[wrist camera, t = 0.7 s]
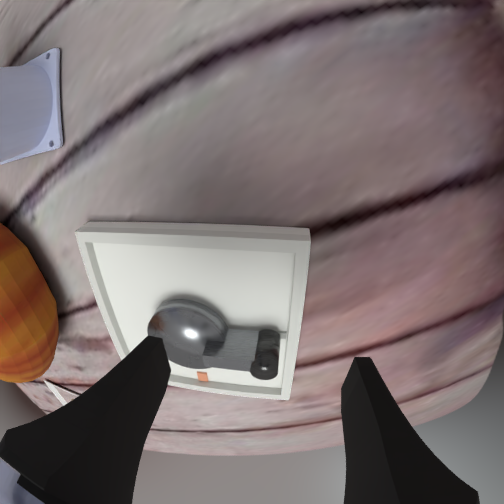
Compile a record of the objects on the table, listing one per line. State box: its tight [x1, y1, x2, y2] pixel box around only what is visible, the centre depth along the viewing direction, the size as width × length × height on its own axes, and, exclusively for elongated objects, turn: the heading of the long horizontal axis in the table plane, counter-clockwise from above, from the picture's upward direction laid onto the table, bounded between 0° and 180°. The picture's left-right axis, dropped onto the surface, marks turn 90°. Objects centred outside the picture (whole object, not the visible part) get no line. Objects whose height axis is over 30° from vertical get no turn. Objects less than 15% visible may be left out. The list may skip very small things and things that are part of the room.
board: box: [75, 222, 311, 400], centre depth 21 cm, size 16×16×2 cm
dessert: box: [44, 380, 80, 406], centre depth 36 cm, size 12×12×5 cm
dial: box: [147, 299, 281, 380], centre depth 19 cm, size 10×6×3 cm, turn 91°
